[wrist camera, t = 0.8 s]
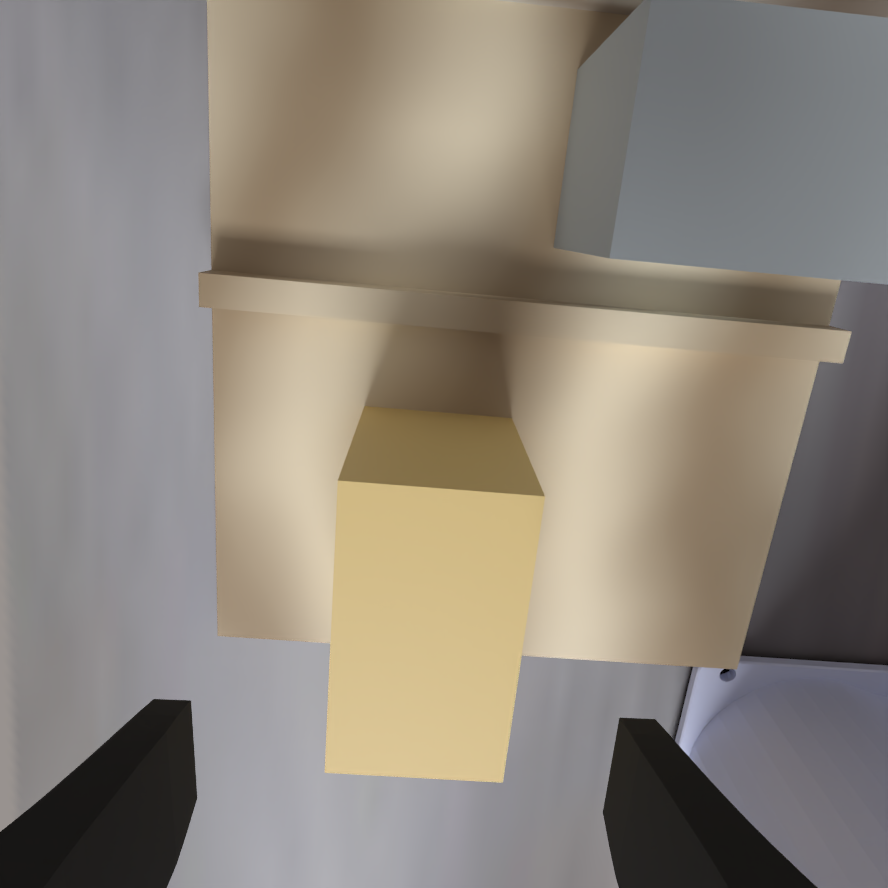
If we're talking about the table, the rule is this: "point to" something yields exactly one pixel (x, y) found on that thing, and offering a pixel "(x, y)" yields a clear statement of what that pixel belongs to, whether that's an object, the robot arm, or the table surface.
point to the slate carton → (733, 141)
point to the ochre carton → (430, 594)
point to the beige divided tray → (481, 323)
